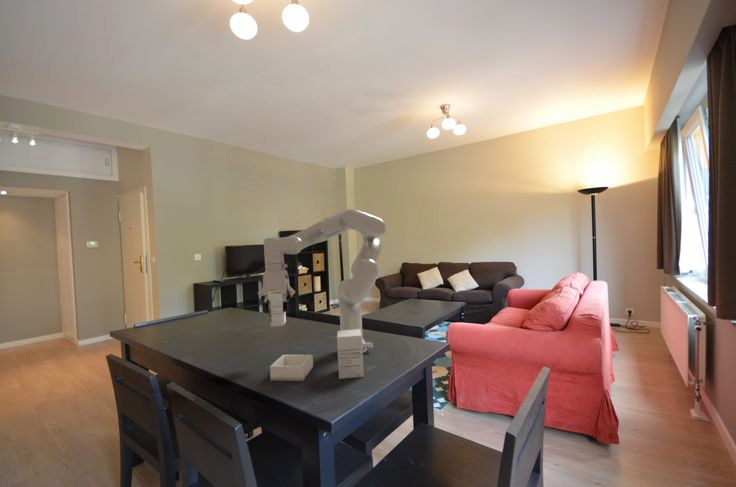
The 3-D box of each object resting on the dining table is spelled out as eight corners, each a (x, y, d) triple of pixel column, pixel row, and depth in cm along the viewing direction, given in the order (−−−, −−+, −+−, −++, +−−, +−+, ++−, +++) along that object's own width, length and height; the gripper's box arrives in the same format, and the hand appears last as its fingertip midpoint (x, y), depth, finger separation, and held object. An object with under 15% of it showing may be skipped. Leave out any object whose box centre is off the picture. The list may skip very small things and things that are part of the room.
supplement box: (338, 369, 126) (336, 330, 125) (362, 367, 126) (360, 328, 126) (338, 379, 117) (336, 337, 116) (363, 377, 117) (361, 335, 117)
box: (313, 367, 129) (312, 354, 129) (302, 380, 117) (302, 366, 117) (283, 367, 130) (283, 354, 130) (270, 380, 118) (269, 366, 118)
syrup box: (272, 323, 138) (270, 288, 138) (286, 322, 138) (284, 287, 138) (269, 327, 132) (267, 290, 132) (284, 325, 133) (282, 289, 132)
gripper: (298, 265, 137) (300, 308, 138) (259, 267, 140) (261, 309, 140) (291, 267, 130) (294, 312, 130) (250, 269, 133) (253, 313, 133)
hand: (277, 310), depth 135 cm, fingers closed on syrup box, 6 cm apart
